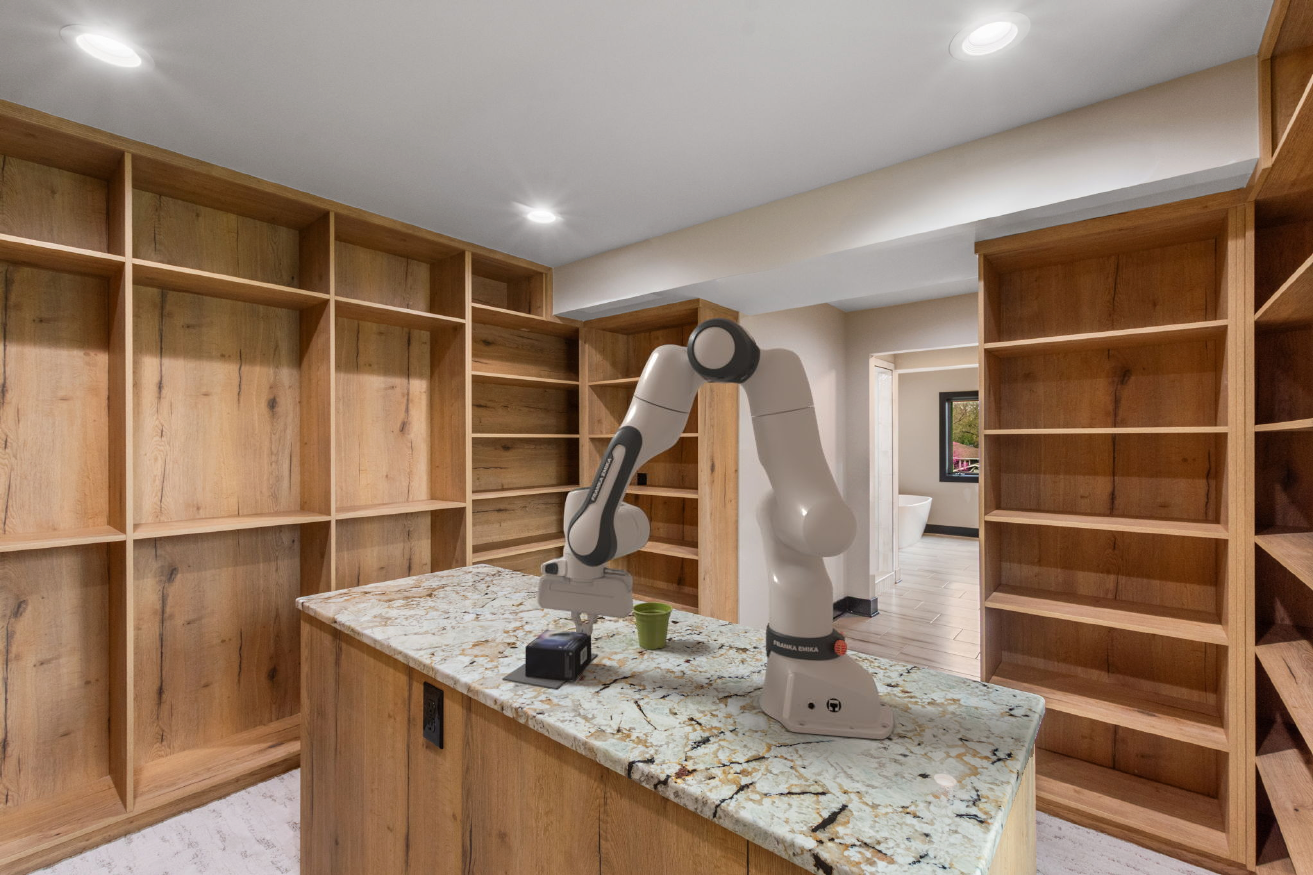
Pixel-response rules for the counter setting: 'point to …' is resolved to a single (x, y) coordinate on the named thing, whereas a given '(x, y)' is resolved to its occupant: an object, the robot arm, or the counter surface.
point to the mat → (536, 678)
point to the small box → (558, 655)
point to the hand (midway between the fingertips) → (584, 633)
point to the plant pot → (652, 623)
